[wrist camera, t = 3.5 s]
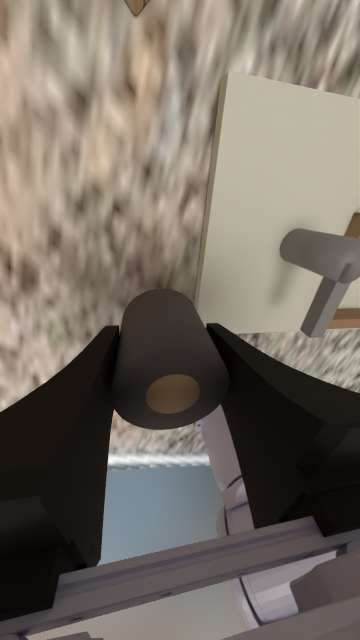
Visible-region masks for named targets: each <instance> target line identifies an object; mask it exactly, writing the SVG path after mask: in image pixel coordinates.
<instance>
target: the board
mask: <svg viewBox="0 0 360 640" xmlns="http://www.w3.org/2000/svg"><path fill="white" fill-rule="evenodd" d="M194 307H195V309H196V311H197V312H198V314H199V316H200V318H201V320H202V322H203V324H204V326H205V328H206V324H207V323H219V324H220V325H222V326H224V327H225V328H227V329H228V330H229V331H231V332H232V333H234V334H244V333H269V332H294V331H302V332H304V333H305V334H306V335H307V336H308V337H310V338H312V337H323V335H324V333H325V331H326V330H344V329H360V99H357V98H352V97H348V96H343V95H339V94H334V93H330V92H325V91H321V90H316V89H312V88H307V87H302V86H298V85H293V84H289V83H284V82H280V81H275V80H271V79H266V78H262V77H257V76H253V75H248V74H243V73H239V72H234V71H230V70H229V71H228V72H227V74H226V75H225V77H224V78H223V80H222V81H221V83H220V91H219V100H218V108H217V116H216V125H215V133H214V141H213V150H212V158H211V166H210V175H209V183H208V191H207V200H206V208H205V216H204V225H203V233H202V241H201V250H200V258H199V266H198V275H197V283H196V291H195V300H194Z"/></svg>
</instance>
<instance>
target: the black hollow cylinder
mask: <svg viewBox="0 0 360 640" xmlns="http://www.w3.org/2000/svg"><path fill="white" fill-rule="evenodd" d="M229 384H230V378H229V373H228V370H227V368H226V366H225V364H224V362H223V360H222V358H221V357H220V355H219V353H218V351H217V349H216V347H215V345H214V343H213V341H212V339H211V337H210V335H209V334H208V332H207V330H206V328H205V326H204V324H203V322H202V320H201V318H200V316H199V314H198V312H197V311H196V309H195V307H194V305H193V303H192V302H191V301H190V300H189V299H188V298H187V297H186V296H184V295H183V294H181V293H179V292H177V291H174V290H169V289H155V290H150V291H147V292H144V293H142V294H140V295H139V296H137V297H136V298H134V299H133V300H132V301H131V302H130V303H129V305H128V306H127V307H126V309H125V311H124V314H123V318H122V325H121V331H120V338H119V345H118V351H117V358H116V364H115V371H114V378H113V384H112V391H111V400H112V404H113V407H114V409H115V411H116V412H117V413H118V415H119V416H121V417H122V418H123V419H124V420H126V421H127V422H129V423H131V424H133V425H135V426H138V427H142V428H146V429H154V430H166V429H174V428H179V427H183V426H186V425H189V424H192V423H194V422H197V421H199V420H201V419H203V418H204V417H206V416H207V415H209V414H210V413H211V412H213V411H214V410H215V409H216V408H217V407H218V406H219V405H220V404H221V402H222V401H223V400H224V398H225V396H226V394H227V392H228V389H229Z"/></svg>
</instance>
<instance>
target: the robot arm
mask: <svg viewBox="0 0 360 640" xmlns="http://www.w3.org/2000/svg"><path fill="white" fill-rule="evenodd" d="M206 330H207V332H208V334H209V335H210V337H211V339H212V341H213V343H214V345H215V347H216V349H217V351H218V353H219V355H220V357H221V358H222V360H223V362H224V364H225V366H226V368H227V370H228V373H229V378H230V384H229V389H228V392H227V394H226V396H225V398H224V400H223V401H222V402H221V404H220V405H219V406H218V407H217V408H216V409H215V410H214V411H213V412H211V413H210V414H209V415H207V416H206V417H204V418H203V419H201V420H199V421H197V422H195V425H194V431H195V432H200V431H202V434H203V438H204V441H205V445H206V449H207V452H208V456H209V460H210V463H211V467H212V471H213V475H214V478H215V480H216V483H217V485H218V486H219V488H220V489H221V491H222V492H221V496H222V499H223V503H224V505H222V506H220V508H219V511H218V517H217V522H216V532H217V538H215V539H211V540H206V541H202V542H198V543H194V544H189V545H185V546H181V547H176V548H172V549H168V550H163V551H159V552H155V553H151V554H146V555H142V556H138V557H133V558H129V559H125V560H121V561H116V562H112V563H108V564H103V565H99V566H97V564H98V562H99V561H100V559H101V544H102V528H103V514H104V500H105V487H106V474H107V464H108V452H109V442H110V431H111V424H112V417H113V412H114V407H113V404H112V400H111V391H112V384H113V378H114V371H115V364H116V358H117V351H118V345H119V338H120V335H119V326H105V327H104V328H103V329H102V330H101V331H100V332H99V333H98V335H97V336H96V337H95V338H94V339H93V340H92V341H91V342H90V343H89V344H88V345H87V347H86V348H85V349H84V350H83V351H82V352H81V353H80V354H79V355H78V356H76V357H75V358H74V359H73V360H72V361H71V362H70V363H69V364H68V365H67V366H66V367H65V368H63V369H62V370H61V371H60V372H59V373H57V374H56V375H55V376H53V377H52V378H51V379H49V380H48V381H47V382H45V383H44V384H43V385H41V386H40V387H38V388H37V389H35V390H34V391H32V392H31V393H30V394H28V395H27V396H25V397H24V398H22V399H21V400H19V401H18V402H16V403H15V404H13V405H11V406H10V407H8V408H6V409H5V410H3V411H2V412H0V640H28V639H27V638H26V636H29V635H33V634H36V633H40V632H43V631H47V630H51V629H54V628H58V627H61V626H65V625H69V624H73V623H76V622H80V621H83V620H87V619H90V618H94V617H98V616H101V615H104V614H109V613H112V612H116V611H120V610H123V609H127V608H130V607H134V606H138V605H141V604H145V603H148V602H152V601H156V600H159V599H162V598H166V597H170V596H174V595H177V594H181V593H184V592H188V591H192V590H196V589H199V588H203V587H206V586H210V585H213V584H217V583H221V582H224V581H227V583H228V586H229V589H230V591H231V594H232V597H233V599H234V601H235V604H236V606H237V608H238V610H239V612H240V613H241V614H242V617H243V619H244V621H245V624H246V626H247V629H248V631H245V632H242V633H239V634H237V635H233V636H231V637H227V638H224V639H222V640H360V393H357V392H353V391H350V390H347V389H344V388H341V387H339V386H336V385H333V384H330V383H327V382H325V381H322V380H320V379H317V378H314V377H312V376H310V375H307V374H305V373H303V372H300V371H298V370H296V369H294V368H291V367H289V366H287V365H285V364H283V363H281V362H279V361H277V360H275V359H274V358H272V357H270V356H268V355H266V354H265V353H263V352H261V351H260V350H258V349H256V348H255V347H253V346H252V345H250V344H248V343H247V342H245V341H244V340H242V339H241V338H240V337H238V336H237V335H235V334H234V333H232V332H231V331H229V330H228V329H227V328H225V327H224V326H222V325H220V324H219V323H207V324H206ZM48 640H103V638H90V636H89V634H88V632H82V633H78V634H73V635H68V636H63V637H58V638H53V639H48Z"/></svg>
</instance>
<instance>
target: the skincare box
mask: <svg viewBox="0 0 360 640" xmlns="http://www.w3.org/2000/svg"><path fill="white" fill-rule="evenodd" d="M125 1H126V2H127V4H128V6H129V7H130V9H131V11H132V12H133V14H134V15H138V14H139V12H140V11H141V10H142V8H143V7H144V6H145V4H146V3H147V2H148V0H125Z"/></svg>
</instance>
